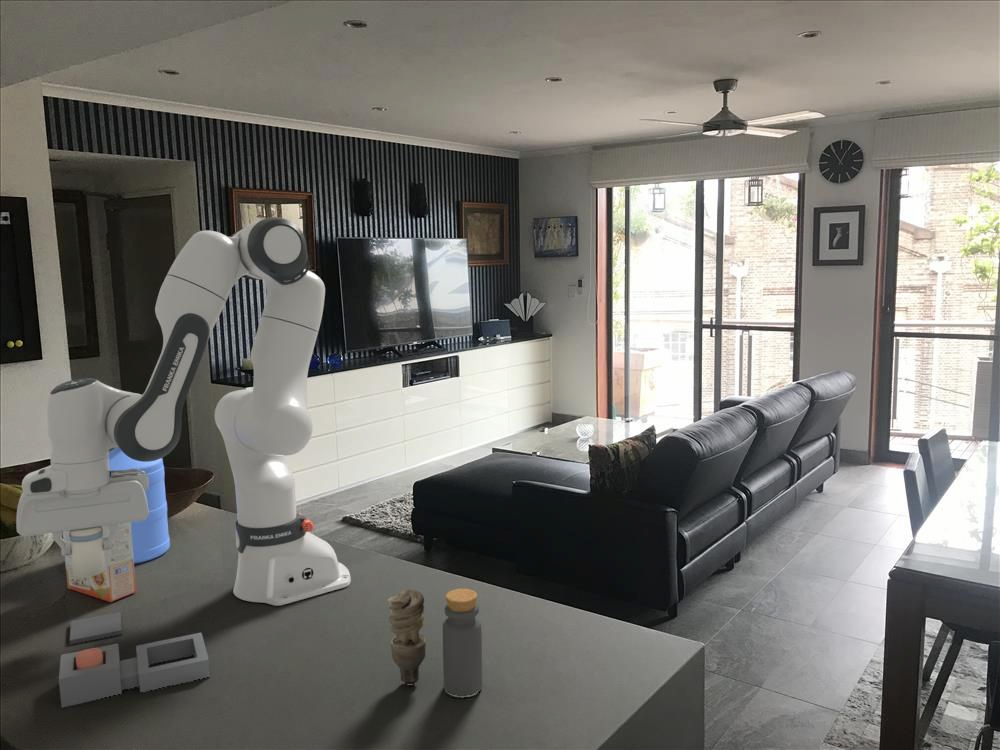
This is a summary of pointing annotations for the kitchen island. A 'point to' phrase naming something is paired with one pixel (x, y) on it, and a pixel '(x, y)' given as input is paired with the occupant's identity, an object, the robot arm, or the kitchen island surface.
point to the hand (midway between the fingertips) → (87, 551)
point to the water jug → (153, 530)
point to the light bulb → (407, 633)
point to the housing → (133, 669)
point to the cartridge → (87, 551)
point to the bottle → (462, 643)
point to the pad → (95, 628)
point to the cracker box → (108, 568)
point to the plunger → (89, 658)
